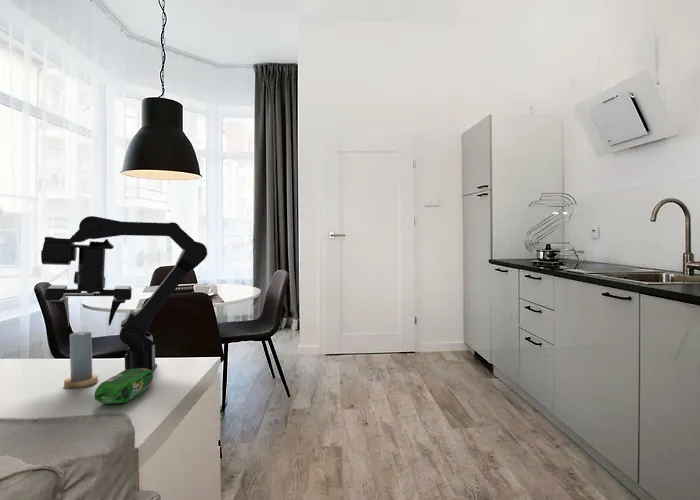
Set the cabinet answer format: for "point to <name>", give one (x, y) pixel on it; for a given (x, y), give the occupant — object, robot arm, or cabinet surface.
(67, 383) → the tan round disc
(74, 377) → the grey rounded cylinder
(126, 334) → the robot arm
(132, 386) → the snack package
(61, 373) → the cabinet surface
